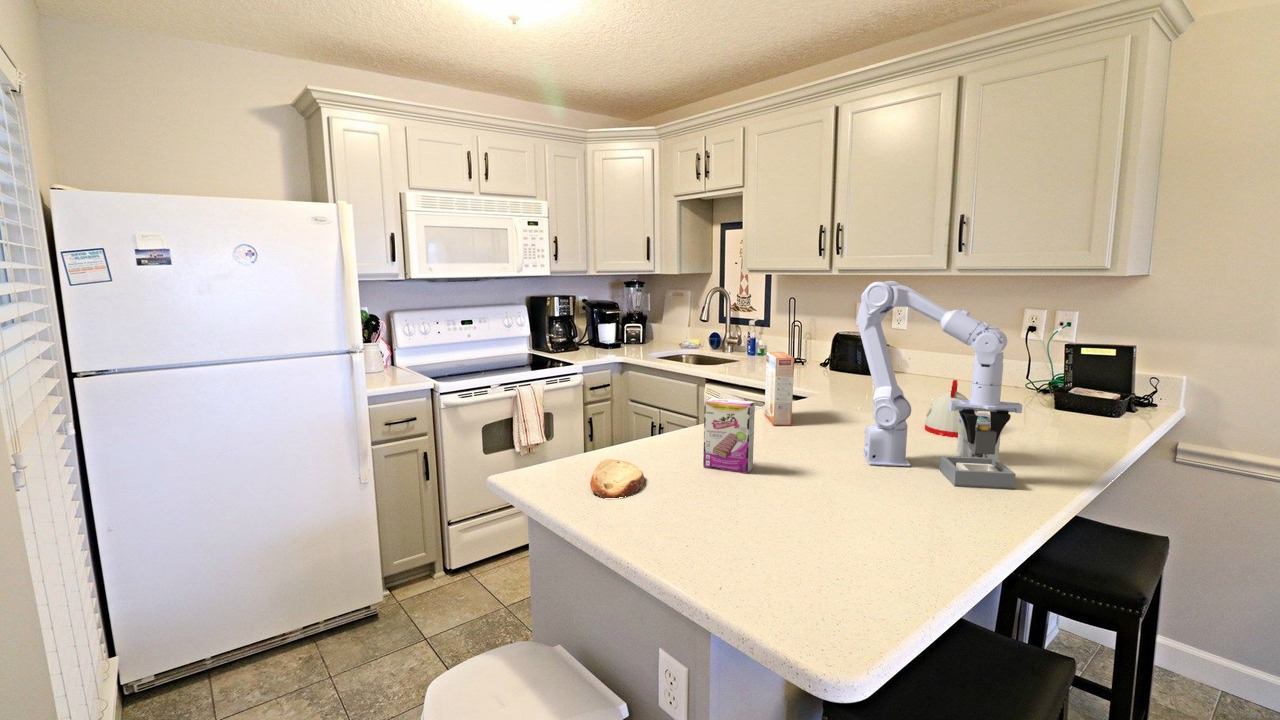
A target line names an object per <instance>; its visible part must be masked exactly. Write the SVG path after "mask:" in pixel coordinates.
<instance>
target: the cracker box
mask: <svg viewBox="0 0 1280 720" xmlns="http://www.w3.org/2000/svg"><path fill="white" fill-rule="evenodd" d="M794 368H795V357H793V356H792V355H789V354H788V353H786V352H785V351H767V352H766V365H765V389H764V390H765V395H764V416H765V417H766V418H767V419H768V421H769V422H770V423H771V424H772V425H773V426H786V427H787V426H789V427H790V426H792V417H793V414H792V413H793V395H794V394H793V393H794V371H795V369H794Z"/></svg>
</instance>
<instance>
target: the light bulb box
mask: <svg viewBox="0 0 1280 720" xmlns="http://www.w3.org/2000/svg"><path fill="white" fill-rule="evenodd" d="M974 413H975V415H977V416H978V419H977V422H976V427H978V424H987V425H990V428H991V418H990V414H989V413H987V412H979V411H977V412H974ZM1001 433H1002V432H1001ZM1001 433H1000V435H999V438H998V441H997V444H996V445H995V454H975V453H974V452H973V451H971V450H970V449H969V442H968V441H967V433H966V429H965V426H964V423H963V420H962V418H961V416H960V413H959V430H958V438H957V445H956V446H957V447H956V452H957V453H958V454H959V455H960V457H981V458H996V459H997V460H998V461H1000V460H999V457H1000V444H1001Z"/></svg>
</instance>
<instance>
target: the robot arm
mask: <svg viewBox="0 0 1280 720" xmlns="http://www.w3.org/2000/svg"><path fill="white" fill-rule="evenodd" d="M860 299H861V302H860V305H859V308H858V313H857V317H856V322H857V327H858V331H859V334H860V338H861V342H862V346H863V350H864V354H865V357H866V361H867V365H868V369H869V372H870V375H871V378H872V384H873V388H874V393H873V398H872V401H873V411H872V416H873V417H872V418H873V420H874V421H875V424H872V425H866V426H865V430H864V443H863V444H864V445H863V446H864V448H863V457H864V458H865V460H866V462H867V463H868V465H870V466H887V467H888V466H889V467H890V466H891V467H892V466H894V467H911V463H909V461H908V460H907V458H906V457H907V455H906V454H907V441H908V440H907V439H908V424H907V420H908V418H909V417H910V416H911V414H912V406H911V403H910V402H909V400H908V399H906V397H905V395H904V391H903V390H902V388H901V387H900V386H899V385H898V381H897V379H896V375H895V371H894V367H893V364H892V359H891V356H890V352H889V348H888V345H887V341H886V338H885V337H886V336H885V333H884V331H883V326H882V322H883V320H884V319H885V318H886V316H887V315H888V313H889V312H890V311H891V310H892V309H894V308H895V307H897V308H898V307H900V308H903V307H904V308H910V309H912V310H914V311H916V312H918V313H920V314H921V315H923V316H925V317H927V318H929V319H931V320H933V321H935V322H937V323H939V324H940V326H941V330H942V332H944V333H945V334H946V335H947V334H948V336H951V337H952V338H954V339H956V340H958V341H960V342H961V343H963V344H965V345H967V346H971V347H972V350H973V351H974V361H973V364H972V376H971V378H972V379H971V392H970V399H968V400H963V401H949V404H948V409H949V410H950V411H956V410H957V411H959V413H960V416H961V418H962V420H963V423H964V426H965V429H966V433H967V441H968V442H969V443H970V444H974V440H975V427H976V422H977V419H978V416H977V415H975V413H974V411H977V412H989V415H990V418H991V429H992V430H994V431H995V432H997V435H996V444H997V441H998V438H999V435H1000V436H1001V434H1000V433H1002V431H1003V429H1004V428H1005V426H1006V425H1007V423H1008V422H1009V421H1010V420H1011V416H1012V415H1011V414H1010V413H1015V414H1022V413H1023V404H1021V403H1020V402H1010V401H1009V402H1008V401H1001V395H1002V384H1003V375H1004V350H1005V348H1006V347H1007V346H1008V345H1007V344H1008V337H1007V335H1006V334H1005V332H1004V331H1003V330H1001V329H1000V328H999V327H997V326H996V327H994V326H991V327H990V325H991V324H990V323H989V322H988V321H985V322H982V321H980V320H978V319H977V318H974V317H973V316H971V315H970V311H968V310H966V309H963V310H960V309H954V310H948V309H946V308H945V307H943V306H941V305H939V304H938V303H936V302H934V301H933V300H931V299H930V298H928V297H926V296H924V295H923V294H921V293H919V292H917V291H916V290H914V289H912V288H910V287H908V286H907V285H902V284H900V283H899V282H897V281H894V280H888V281H887V280H886V281H875V282H872V283H870V284H869V285H868V286H867V287H866V288H865V290H864V291H863V292H862V294H861V295H860Z"/></svg>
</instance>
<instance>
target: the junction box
mask: <svg viewBox="0 0 1280 720" xmlns="http://www.w3.org/2000/svg"><path fill="white" fill-rule="evenodd" d="M939 470H940V471H939ZM938 471H939V472H940V473H941V474H942V475H943V476H944V477H945V479H947V480H948V481H949V482H950V483H951V484H952V486H953V487H960V488H961V487H962V488H978V489H995V490H996V489H997V490H999V489H1002V490H1015V485H1016V473H1015V472H1014V471H1013V470H1011V469H1010V468H1008V467H1007V465H1005V464H1003V462H1001V461H1000V460H997V459H996V458H981V457H962V456H958V455H957V456H956V455H954V456H952V455H939V463H938Z"/></svg>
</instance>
